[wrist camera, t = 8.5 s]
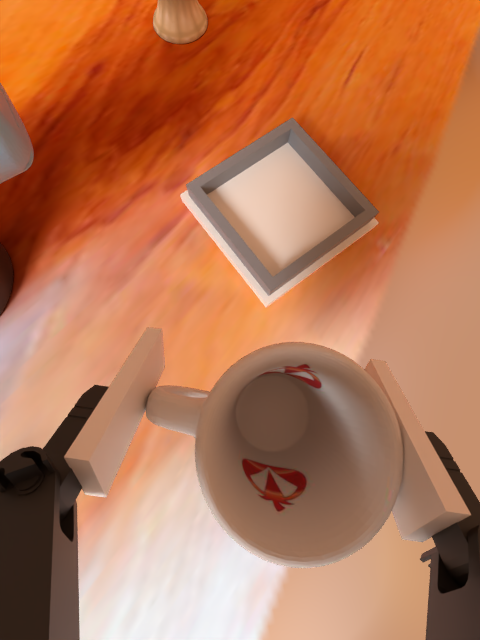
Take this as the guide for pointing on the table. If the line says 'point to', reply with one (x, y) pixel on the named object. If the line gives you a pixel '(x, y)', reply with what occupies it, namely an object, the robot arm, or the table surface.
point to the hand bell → (180, 20)
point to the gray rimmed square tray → (279, 210)
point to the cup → (291, 452)
